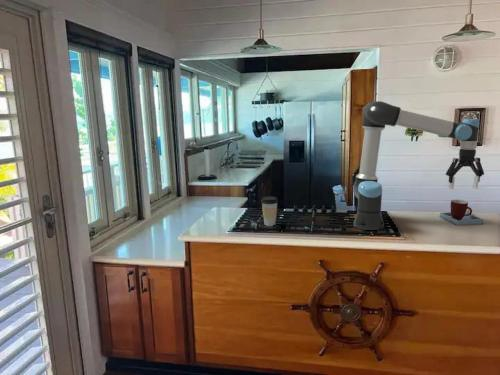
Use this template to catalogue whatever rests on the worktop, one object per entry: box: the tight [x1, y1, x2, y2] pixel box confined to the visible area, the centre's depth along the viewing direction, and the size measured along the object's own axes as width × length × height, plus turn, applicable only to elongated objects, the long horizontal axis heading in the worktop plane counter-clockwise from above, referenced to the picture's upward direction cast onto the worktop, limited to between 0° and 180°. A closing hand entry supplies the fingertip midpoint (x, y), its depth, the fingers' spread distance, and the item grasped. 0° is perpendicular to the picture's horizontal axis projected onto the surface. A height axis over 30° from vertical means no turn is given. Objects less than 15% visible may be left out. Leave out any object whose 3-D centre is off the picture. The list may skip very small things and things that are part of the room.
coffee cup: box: [260, 196, 279, 227], centre depth 204 cm, size 9×9×15 cm
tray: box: [439, 211, 485, 226], centre depth 205 cm, size 15×16×2 cm
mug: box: [450, 199, 473, 220], centre depth 203 cm, size 10×8×10 cm
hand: (463, 188), depth 201 cm, fingers open, 13 cm apart
